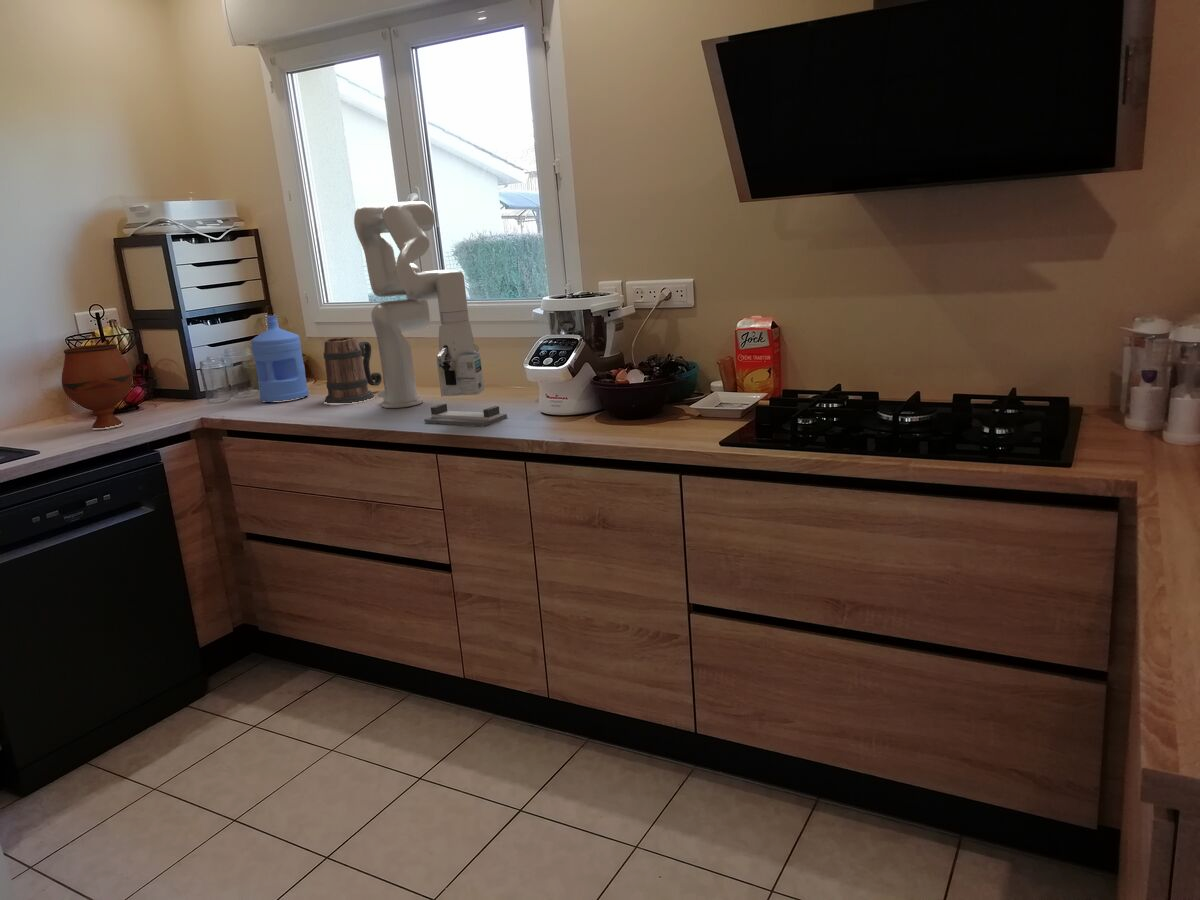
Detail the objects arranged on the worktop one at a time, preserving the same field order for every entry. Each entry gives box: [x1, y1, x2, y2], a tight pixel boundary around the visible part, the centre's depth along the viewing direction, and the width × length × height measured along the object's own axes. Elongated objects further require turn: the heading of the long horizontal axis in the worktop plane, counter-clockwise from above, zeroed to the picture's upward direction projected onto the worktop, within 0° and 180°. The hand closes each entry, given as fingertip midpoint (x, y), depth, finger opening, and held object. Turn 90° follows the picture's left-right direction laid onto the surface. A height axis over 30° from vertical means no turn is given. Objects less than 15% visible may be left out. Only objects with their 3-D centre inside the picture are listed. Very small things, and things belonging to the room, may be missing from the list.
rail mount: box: [424, 403, 508, 427], centre depth 238 cm, size 20×11×4 cm, turn 61°
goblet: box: [61, 343, 134, 429], centre depth 263 cm, size 19×19×25 cm
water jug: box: [250, 315, 310, 402], centre depth 290 cm, size 16×16×28 cm
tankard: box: [323, 337, 383, 403], centre depth 283 cm, size 24×17×20 cm
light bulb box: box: [436, 351, 485, 397], centre depth 236 cm, size 11×7×11 cm, turn 84°
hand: (461, 381), depth 236 cm, fingers closed on light bulb box, 8 cm apart
